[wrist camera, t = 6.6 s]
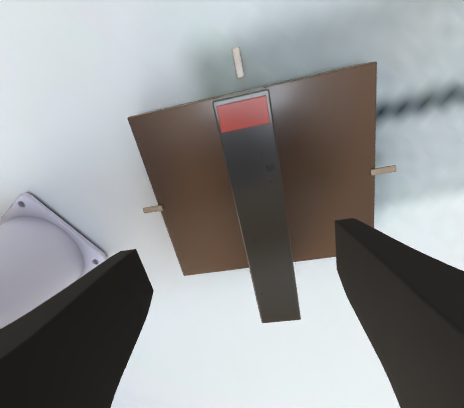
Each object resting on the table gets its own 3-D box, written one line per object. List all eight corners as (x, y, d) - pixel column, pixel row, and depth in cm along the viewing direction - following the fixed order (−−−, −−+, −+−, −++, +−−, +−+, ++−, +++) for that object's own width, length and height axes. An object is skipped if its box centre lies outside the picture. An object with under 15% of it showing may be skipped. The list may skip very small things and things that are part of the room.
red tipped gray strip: (289, 263, 19) (301, 323, 14) (259, 267, 19) (261, 327, 14) (263, 86, 14) (269, 88, 9) (223, 95, 14) (210, 101, 10)
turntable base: (183, 281, 23) (177, 299, 21) (112, 83, 16) (93, 83, 14) (377, 257, 21) (390, 275, 19) (383, 16, 14) (404, 5, 12)
